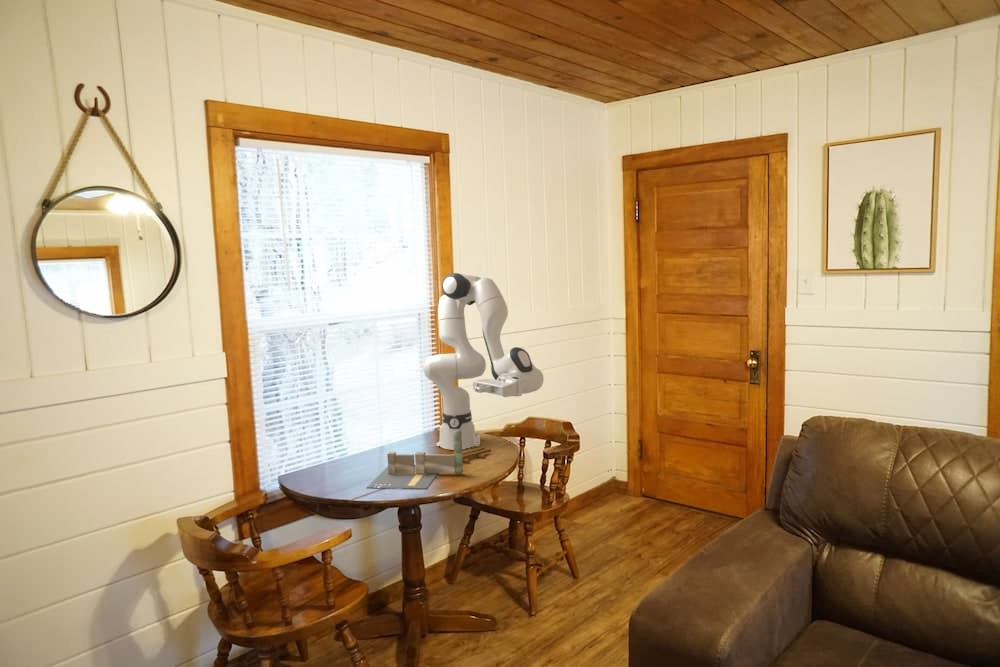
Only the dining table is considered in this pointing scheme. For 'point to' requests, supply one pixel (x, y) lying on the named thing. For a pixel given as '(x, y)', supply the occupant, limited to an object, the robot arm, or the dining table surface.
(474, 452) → the decorative fence
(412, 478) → the board
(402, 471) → the fixed fence section
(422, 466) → the swinging fence section
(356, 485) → the dining table surface
